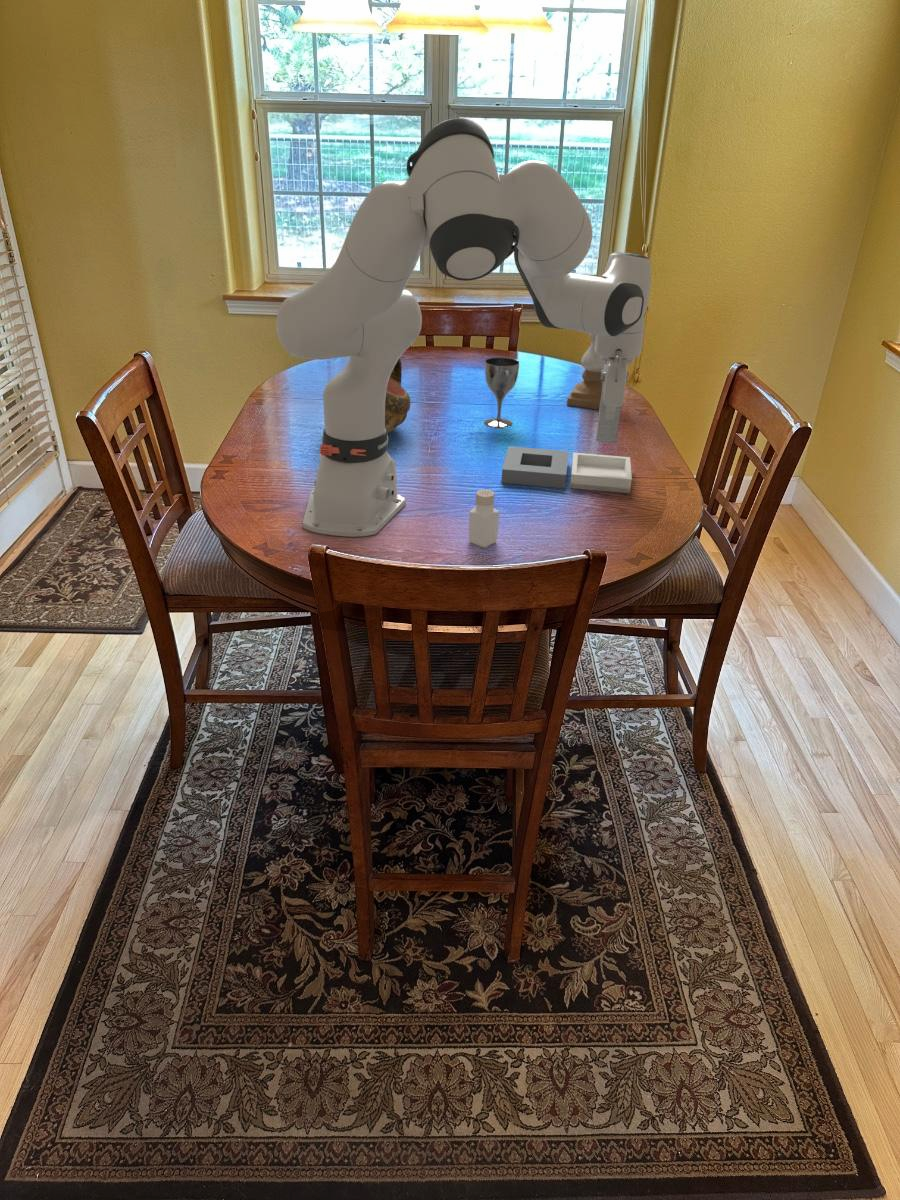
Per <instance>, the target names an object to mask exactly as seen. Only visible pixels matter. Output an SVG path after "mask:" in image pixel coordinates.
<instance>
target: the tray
mask: <svg viewBox="0 0 900 1200" xmlns="http://www.w3.org/2000/svg"><path fill="white" fill-rule="evenodd" d="M631 467H632V464H631V457H630V456H619V455H608V454H597V453H596V454H595V453H586V452H585V453H584V452H583V453H582V452H573V453H572V461H571V472H570V480H569V481H570V485H569V489H577V490H578V489H579V490H588V491H589V490H590V491H600V492H610V493H611V492H612V493H621V494H623V493H624V494H630V493H631V486H632V481H633V479H632V468H631Z"/></svg>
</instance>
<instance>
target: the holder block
mask: <svg viewBox="0 0 900 1200" xmlns="http://www.w3.org/2000/svg"><path fill="white" fill-rule="evenodd" d="M569 453H570V452H569V451H568V450H557V449H546V448H545V449H544V448H534V447H533V448H531V447H522V446H508V447H507V451H506V453H505V459H504V461H503V465H502V468H501V484H508V485H509V484H510V485H519V486H520V485H522V486H532V487H533V486H534V487H544V488H554V489H555V488H556V489H566V483H567V481H566V480H567V472H568V462H569Z"/></svg>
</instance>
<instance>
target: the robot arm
mask: <svg viewBox="0 0 900 1200" xmlns="http://www.w3.org/2000/svg"><path fill="white" fill-rule="evenodd" d="M497 169H498V168H497V166H496V161H495V152H494V149H493V145H492V143H491V141H490V138H489V135H488V134H487V133H486V131H485V130H484V128H483V127H482V126H481V125H480V124H479V123H477V122H476V121H474V120H473V119H469V118H466V117H465V118H464V117H456V118H451V119H446V120H445V121H441V122H440V123H439V124H437V125H435V126H434V127H433V128H432V129H431V130H429V132H428V133H427V134H426V135H425V136H424V137H423V138H422V140H421V141H420V143H419V146H418V148H417V150H416V151H414V152H413V153H412V154H411V155H409V157H408V159H407V161H406V172H407V175H408V178H406V179H405V180H402V181H401V180H387V181H383V182H380V183H379V184H377V185H376V186H374V187H373V188H372V189H371V190H370V191H369V192H368V194H367V195H366V196H365V198H364V199H363V201H362V203H361V204H360V206H359V208H358V209H357V211H356V212H355V215H354V216H353V218H352V221H351V223H350V225H349V228H348V231H347V233H346V236H345V239H344V242H343V244H342V247H341V249H340V251H339V254H338V256H337V259H336V261H335V262H334V264H332V266H331V267H330V268H329V269H328V270H327V271H326V272H325V273H324V274H323V275H322V276H321V277H320V278H318V279H317V280H315V282H314V283H313V284H311V285H310V286H308V287H307V288H305V289H304V290H302V291H300V292H298V293H295V294H293V295H292V296H289V297H288V298H285V299H284V300H283V301H282V303H281V305H280V306H279V309H278V310H277V311H278V312H277V314H276V321H275V322H276V323H275V327H276V332H277V333H276V334H277V337H278V338H279V341H280V343H281V345H282V346H283V348H284V350H286V352H287V353H289V354H290V356H292V357H293V358H297V359H308V360H317V361H318V360H323V361H324V360H329V359H339V358H347V357H350V358H349V360H348V363H347V364H345V367H344V368H343V369H342V371H340V372H339V373H338V374H336V375H335V376H334V377H332V378H331V379H330V380H329V381H328V382H327V384H326V386H325V387H324V390H323V394H322V403H323V416H324V417H323V418H324V429H323V432H322V437H321V445H320V448H319V453H320V454H319V463H318V468H317V473H316V479H315V480H314V489H311V491H310V494H309V496H308V501H307V504H306V508H305V512H304V514H303V515H304V516H303V519H302V528H303V529H305V530H307V531H309V532H313V533H316V534H322V535H326V536H327V535H329V536H337V537H367V536H368V537H369V536H374V535H377V533H379V532H380V531H381V530H382V529H383V528H384V526H386V525H387V524H388V523H389V522H390V521H391V520H392V519H393V518H394V516H395V515H397V513H399V512H400V511H401V510H402V509H403V507H404V506H406V498H405V497H404V496H402V495H401V494H398V492H399V491H398V479H397V478H398V477H397V476H398V475H397V466H396V465H397V464H396V461H395V460H394V459H393V458H392V457H391V456H390V454H389V452H388V448H389V445H388V444H389V436H388V434H387V429H386V428H385V398H386V389H387V384H388V381H389V378H390V375H391V373H392V370H393V368H394V366H395V365H396V363H397V361H398V360H399V358H400V359H401V357H402V355H404V353H405V352H406V351H407V350H408V349H409V348H410V347H411V346H412V345H413V344H415V342H416V341H417V339H418V337H419V335H420V333H421V329H422V323H423V315H422V311H421V307H420V304H419V302H418V300H417V299H416V297H415V296H414V295H413V294H412V292H411V291H410V290H408V289H406V287H407V284H408V282H409V280H410V278H411V276H412V274H413V272H414V270H415V268H416V265H417V263H418V261H419V258H420V256H421V253H422V251H423V250H424V249H425V248H426V247H427V245H429V250H430V253H431V256H432V257H433V260H434V263H435V264H436V266H437V268H438V271H440V273H441V274H443V275H444V276H446V277H448V278H450V279H454V280H457V281H465V282H468V281H469V282H470V281H475V280H480V279H482V278H484V277H487V276H488V275H489V274H491V273H492V272H494V271H495V270H496V269H498V268H499V267H500V266H501V265H502V264H503V263H504V262H505V261H506V260H507V259H508V258H509V257H510V256H512V255H513V258H514V264H515V267H516V269H517V271H518V273H519V276H520V277H521V280H522V281H523V283H524V285H525V287H526V289H527V291H528V293H529V295H530V297H531V298H532V299H531V300H532V303H533V309H534V312H535V316H536V317H537V319H538V321H539V322H540V324H541V325H542V326H543V327H545V328H551V329H558V330H560V329H561V330H567V331H573V332H578V333H580V332H581V333H585V334H589V333H591V334H596V341H595V349H594V351H595V352H596V353H597V354H599V355H600V361H601V362H602V363H603V370H604V369H606V375H605V382H604V389H603V404H604V405H606V411H605V419H607V420H613V419H614V416H615V410H616V407H617V406H621V407H622V406H623V403H624V399H625V391H626V383H627V382H626V376H627V372H628V366H629V365H633V363H634V358H638V357H640V356H641V355H642V350H643V349H642V347H643V344H644V343H643V341H644V335H645V328H646V327H645V326H646V325H645V316H646V315H645V314H646V312H647V309H648V307H649V303H650V302H649V301H650V296H651V295H650V294H651V284H652V282H651V280H652V265H651V264H652V263H651V260H650V258H649V257H647V256H646V255H643V254H637V253H631V252H623V251H614V252H612V253H610V254H609V256H608V259H607V263H606V266H605V271H604V274H602V275H601V276H595V275H590V274H589V275H588V274H584V273H576V272H574V270H576V269H577V268H578V267H579V266H580V265H581V264H582V263H583V261H584V260H585V259H586V257H587V255H588V253H589V251H590V248H591V244H592V241H593V227H592V226H593V225H592V222H591V219H590V216H589V214H588V212H587V210H586V208H585V207H584V204H583V203H582V202H581V200H580V198H579V197H578V195H577V193H576V192H575V191H574V189H573V188H572V187H571V185H570V184H569V183H568V181H566V179H565V178H564V177H563V176H562V175H561V174H560V173H559V172H558V171H557V170H555V168H553V166H551V165H550V164H548V163H547V162H544V161H543V160H536V159H533V160H532V159H531V160H526V161H522V162H520V163H518V164H516V165H515V166H514V167H512V168H511V169H510V170H509V171H508V172H507V173H506V174H499V175H498V170H497ZM615 381H617V382H615Z"/></svg>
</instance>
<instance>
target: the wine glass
mask: <svg viewBox="0 0 900 1200" xmlns="http://www.w3.org/2000/svg"><path fill="white" fill-rule="evenodd" d="M519 369H520V361H519V360H518V359H516V358H513V357H509V356H492V357H488V358H486V359H485V361H484V377H485V382H486V385H487V387H488V388H489V390H490V391H491V392H492V394H493V395H494V397H495V400H496V402H497V403H496V405H497V412H496V413H497V414H496V416H497V417H492V418H487V419H485V420H484V421H483V424H484V425H485V426H486V425H487V426H486V427H488V426H489V428H492V427H495V428H494V429H504V428H503V427H508V426H511V427H512V426H513V425H514V422H513V421H512V422H513V423H512V422H511V420H510V419H507V418H503V417H501V413H502V406H503V401H504V399H505V398H506V396H507V395H508V394H509V393H510V392H511V391H512V390H513V388H514V387H515V386H516V382H517V380H518V375H519ZM502 418H503V419H502ZM512 424H513V425H512ZM508 428H509V427H508Z"/></svg>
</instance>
